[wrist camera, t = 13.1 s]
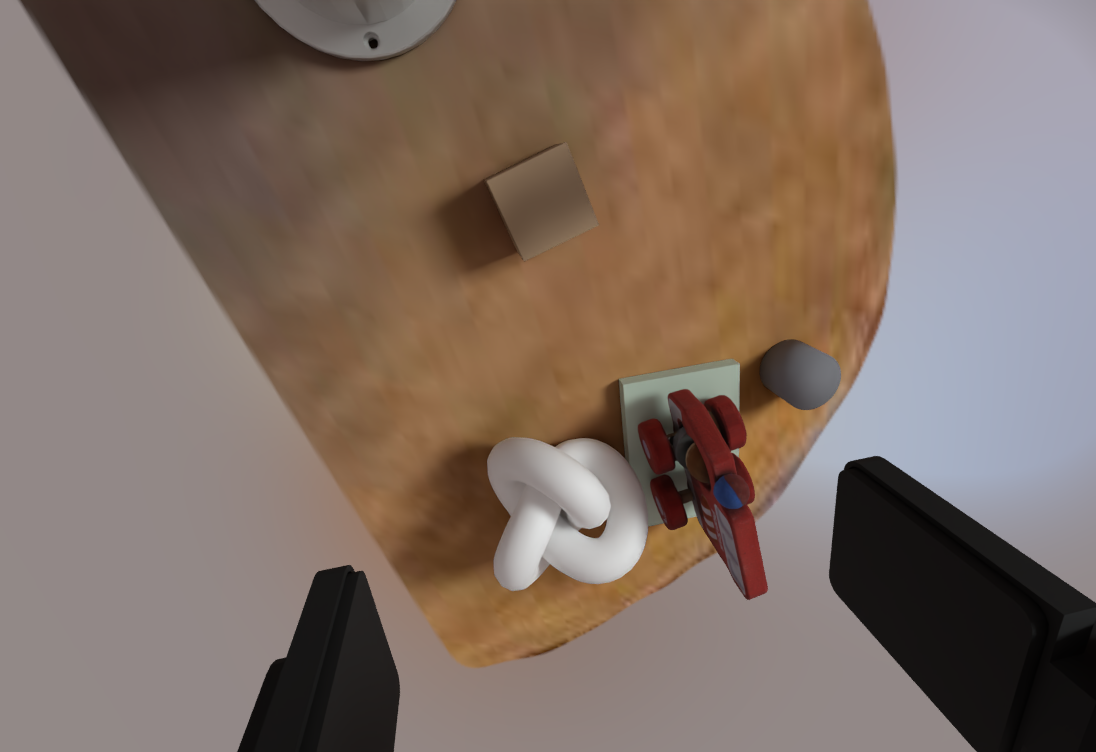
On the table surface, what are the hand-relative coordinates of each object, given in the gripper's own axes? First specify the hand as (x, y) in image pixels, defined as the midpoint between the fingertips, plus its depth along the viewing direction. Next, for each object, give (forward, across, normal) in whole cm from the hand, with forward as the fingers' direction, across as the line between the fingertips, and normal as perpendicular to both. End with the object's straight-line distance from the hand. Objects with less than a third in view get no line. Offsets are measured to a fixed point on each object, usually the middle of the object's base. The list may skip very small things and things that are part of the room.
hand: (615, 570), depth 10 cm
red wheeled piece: (+27, -12, +15) cm, 33 cm away
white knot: (+28, -1, +15) cm, 32 cm away
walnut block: (+28, -3, -5) cm, 29 cm away
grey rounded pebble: (+28, -21, +10) cm, 37 cm away
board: (+28, -12, +15) cm, 34 cm away
